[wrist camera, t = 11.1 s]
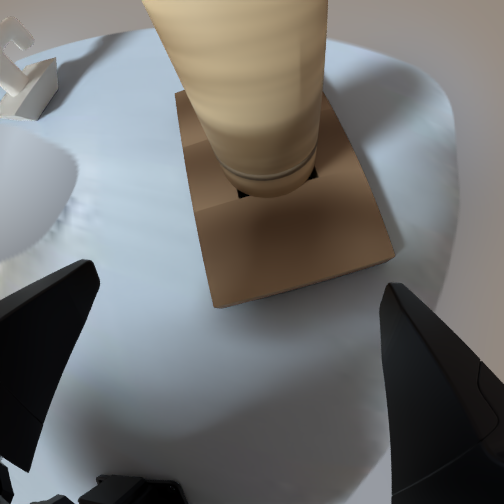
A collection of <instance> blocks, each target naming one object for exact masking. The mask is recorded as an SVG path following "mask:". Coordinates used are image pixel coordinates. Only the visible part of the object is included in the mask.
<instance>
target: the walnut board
mask: <svg viewBox="0 0 504 504" xmlns="http://www.w3.org/2000/svg"><path fill="white" fill-rule="evenodd" d="M175 99H176V107H177V114H178V121H179V128H180V134H181V141H182V147H183V153H184V160H185V166H186V172H187V177H188V183H189V189H190V194H191V200H192V205H193V211H194V216H195V221H196V226H197V231H198V236H199V241H200V246H201V251H202V256H203V261H204V266H205V270H206V275H207V279H208V284H209V289H210V293H211V297H212V302H213V306H214V308H221V309H222V308H226V307H230V306H234V305H238V304H242V303H246V302H250V301H253V300H257V299H261V298H265V297H269V296H272V295H276V294H280V293H284V292H287V291H291V290H295V289H298V288H302V287H305V286H309V285H312V284H316V283H319V282H323V281H326V280H330V279H333V278H336V277H340V276H343V275H346V274H350V273H353V272H356V271H360V270H363V269H366V268H369V267H372V266H376V265H379V264H382V263H385V262H387V261H389V260H390V259H392V258H393V257H395V253H394V250H393V247H392V244H391V241H390V238H389V236H388V233H387V230H386V227H385V224H384V222H383V219H382V216H381V214H380V211H379V209H378V206H377V203H376V201H375V198H374V196H373V193H372V191H371V189H370V186H369V184H368V181H367V179H366V177H365V174H364V172H363V170H362V168H361V165H360V163H359V161H358V159H357V157H356V154H355V152H354V150H353V148H352V146H351V144H350V142H349V140H348V138H347V136H346V134H345V132H344V130H343V128H342V126H341V124H340V122H339V120H338V118H337V116H336V114H335V112H334V110H333V108H332V107H331V105H330V103H329V101H328V99H327V97H326V96H325V94H324V92H323V90H322V101H321V112H320V122H319V135H318V143H317V149H316V158H315V165H314V168H313V171H312V173H311V175H312V177H313V179H311V180H307V181H306V182H305V183H304V184H303V185H301V186H300V187H299V188H298V189H296V190H294V191H293V192H291V193H289V194H286V195H283V196H279V197H274V198H260V197H254V196H247V197H244V198H241V197H240V194H239V190H238V189H236V188H235V187H234V186H233V185H232V184H231V183H230V182H229V181H228V179H227V178H226V176H225V174H224V172H223V170H222V168H221V166H220V164H219V161H218V160H217V158H216V156H215V154H214V152H213V150H212V147H211V144H210V142H209V140H208V138H207V136H206V134H205V132H204V129H203V127H202V125H201V123H200V121H199V119H198V117H197V115H196V113H195V110H194V108H193V106H192V104H191V102H190V100H189V98H188V96H187V94H186V91H185V90H183V91H180V92H177V93H175Z"/></svg>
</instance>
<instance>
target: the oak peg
mask: <svg viewBox="0 0 504 504" xmlns="http://www.w3.org/2000/svg"><path fill="white" fill-rule="evenodd" d="M142 2H143V4H144V6H145V8H146V10H147V12H148V14H149V17H150V18H151V20H152V23H153V25H154V27H155V29H156V31H157V33H158V35H159V37H160V39H161V41H162V43H163V45H164V48H165V50H166V52H167V54H168V56H169V58H170V60H171V62H172V64H173V66H174V68H175V70H176V73H177V75H178V77H179V79H180V81H181V83H182V85H183V87H184V89H185V91H186V94H187V96H188V98H189V100H190V102H191V104H192V106H193V108H194V110H195V113H196V115H197V117H198V119H199V121H200V123H201V125H202V127H203V129H204V132H205V134H206V136H207V138H208V140H209V142H210V144H211V147H212V150H213V152H214V154H215V156H216V158H217V160H218V161H219V164H220V166H221V168H222V170H223V172H224V174H225V176H226V178H227V179H228V181H229V182H230V183H231V184H232V185H233V186H234V187H235V188H236V189H238V190H239V191H241V192H243V193H245V194H247V195H250V196H254V197H260V198H274V197H279V196H283V195H286V194H289V193H291V192H293V191H294V190H296V189H298V188H299V187H300V186H301V185H303V184H304V183H305V182H306V180H307V179H308V178H309V176H310V175H311V173H312V171H313V168H314V165H315V158H316V149H317V143H318V135H319V122H320V112H321V101H322V90H323V78H324V65H325V50H326V33H327V12H328V11H327V10H328V0H142Z"/></svg>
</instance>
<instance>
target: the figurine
mask: <svg viewBox="0 0 504 504" xmlns="http://www.w3.org/2000/svg"><path fill="white" fill-rule="evenodd" d="M10 41H12V42H14V43H15V44H16V45H17V46H18V47H19V48H20V49H21V50H27V49H29V48H30V47H31V46H32V45H33V44H34V38H33V36H32V35H31V34H30V33H29V32H28V31H27V29H26V28H25V27H24V26H23V25H22V24H21V22H20V21H19V20H18V19H16V18H15V17H7V18H6V19H4V20H3V21H2V22H1V23H0V86H1V87H2V88H3V89H4V90H5V91H6V92H7V93H6V94H5V95H4V97H3V98H2V100H1V102H0V118H4V119H11V120H18V121H37V120H38V118H39V117H40V115H41V114H42V112H43V111H44V109H45V107H46V106H47V104H48V103H49V102H50V100H51V99H52V97H53V96H54V94H55V93H56V91H57V90H58V89H59V87H58V76H57V63H56V57H55V58H52V59H48V60H44V61H41V62H37V63H34V64H31V65H28V66H26V67H25V68H24V69H23V71H21V70H20V69H19V68H18V67H17V66H16V65H15V64H14V63H13V62H12V61H11V60H10V59H9V58H8V57H7V56H6V55H5V54H4V52H3V49H4V48H5V47H6V45H7V44H8V43H9V42H10Z"/></svg>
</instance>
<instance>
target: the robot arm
mask: <svg viewBox="0 0 504 504" xmlns="http://www.w3.org/2000/svg"><path fill="white" fill-rule="evenodd" d="M99 287H100V279H99V276H98V274H97V271H96V268H95V265H94V263H93V262H92V261H91V260H85V259H81V260H79V261H77V262H74V263H72V264H70V265H68V266H66V267H64V268H62V269H60V270H58V271H56V272H54V273H52V274H50V275H48V276H46V277H44V278H42V279H40V280H38V281H36V282H34V283H32V284H30V285H28V286H26V287H24V288H22V289H20V290H19V291H17V292H15V293H13V294H11V295H9V296H7V297H5V298H4V299H2V300H0V504H11V501H12V499H13V496H14V493H13V489H12V485H11V481H10V477H9V472H8V468H7V467H6V466H5V465H4V464H3V463H2V462H1V460H2V458H5V459H6V460H8V461H9V462H11V463H12V464H14V465H16V466H17V467H19V468H20V469H22V470H24V471H25V472H27V473H29V471H30V468H31V464H32V461H33V457H34V453H35V450H36V447H37V443H38V440H39V437H40V434H41V431H42V428H43V424H44V421H45V418H46V415H47V412H48V410H49V407H50V404H51V401H52V399H53V396H54V393H55V391H56V388H57V386H58V383H59V381H60V378H61V376H62V373H63V371H64V369H65V366H66V364H67V362H68V359H69V357H70V355H71V353H72V350H73V348H74V346H75V344H76V342H77V340H78V337H79V335H80V333H81V331H82V329H83V327H84V325H85V322H86V320H87V317H88V315H89V312H90V310H91V307H92V304H93V302H94V299H95V297H96V295H97V292H98V290H99ZM379 316H380V332H381V354H382V366H383V373H384V381H385V389H386V398H387V407H388V418H389V430H390V446H391V468H392V469H391V471H392V495H393V496H392V498H391V504H504V384H503V383H502V382H501V381H500V380H499V379H498V378H497V377H496V375H495V374H494V373H493V372H492V371H491V370H490V369H489V368H488V367H487V366H486V365H485V364H484V363H483V362H482V361H480V359H479V357H478V356H477V355H476V354H475V353H474V352H473V351H472V350H471V349H470V348H469V347H468V346H467V345H466V344H465V343H464V342H463V341H462V340H461V339H460V338H459V337H458V336H457V335H456V334H455V333H454V332H453V331H452V330H451V329H450V328H449V327H448V326H447V325H446V324H445V323H444V322H443V321H442V320H441V319H440V318H439V317H438V316H437V315H436V314H435V313H434V312H433V311H432V310H430V309H429V308H428V307H427V306H426V305H425V304H424V303H423V302H422V301H421V300H420V299H419V298H418V297H417V296H415V295H414V294H413V293H412V292H411V291H410V290H409V289H408V288H407V287H406V286H404V285H403V284H402V283H391V282H390V283H388V284H387V285H386V288H385V291H384V294H383V298H382V301H381V304H380V309H379ZM96 482H97V484H98V485H97V486H96V487H94V488H93V489H91V490H90V491H88V492H87V493H85V494H84V495H82V496H81V497H80V498H79V499H78V502H79V504H188V502H187V499H186V497H185V495H184V493H183V490H182V488H181V486H180V484H178V483H177V482H175V481H171V480H147V479H144V478H141V477H129V476H119V475H111V476H107V475H99V476H98V477H97V478H96ZM170 486H171V487H173V488H174V489H175V490H174V489H172V488H171V487H170ZM30 504H74V503H73V502H72V501H71V500H70V499H68V498H67V497H66V496H64V495H59V494H58V495H56V496H54V497H52V498H51V499H49V500H47V501H40V502H32V503H30Z"/></svg>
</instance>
